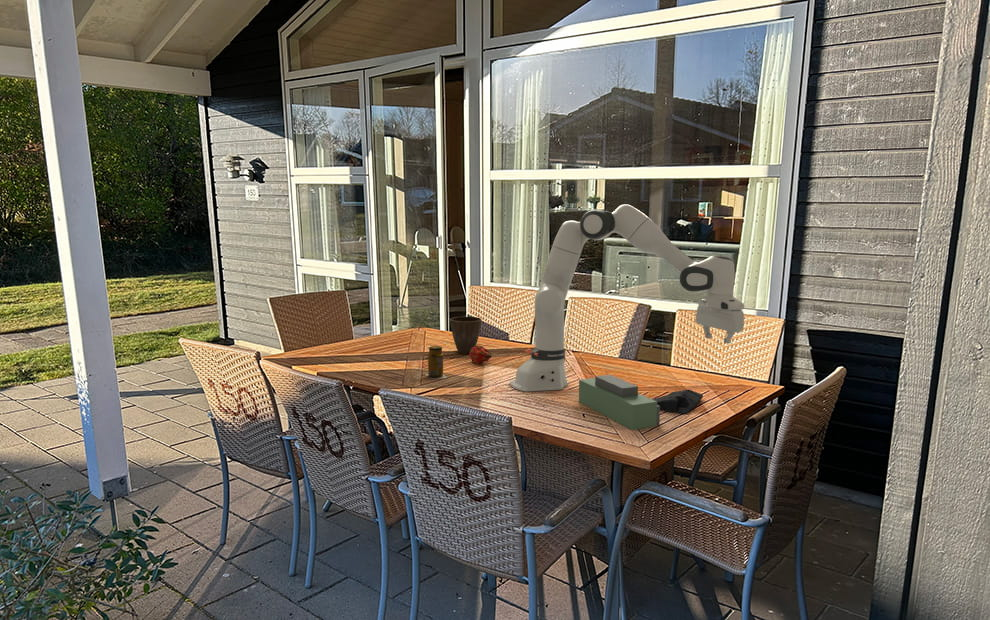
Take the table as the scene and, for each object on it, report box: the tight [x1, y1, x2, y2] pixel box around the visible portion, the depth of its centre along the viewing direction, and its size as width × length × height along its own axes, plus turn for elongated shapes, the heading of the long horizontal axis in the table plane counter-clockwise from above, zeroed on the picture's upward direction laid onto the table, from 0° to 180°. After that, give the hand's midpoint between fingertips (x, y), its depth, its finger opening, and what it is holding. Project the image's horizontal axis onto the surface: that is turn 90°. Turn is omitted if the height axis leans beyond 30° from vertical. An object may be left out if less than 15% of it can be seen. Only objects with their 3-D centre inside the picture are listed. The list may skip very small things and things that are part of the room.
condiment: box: [424, 345, 448, 380], centre depth 259 cm, size 7×8×12 cm
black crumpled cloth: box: [652, 389, 704, 415], centre depth 223 cm, size 15×22×5 cm
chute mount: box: [578, 374, 661, 431], centre depth 212 cm, size 11×32×11 cm, turn 23°
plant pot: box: [449, 316, 483, 355], centre depth 303 cm, size 15×15×16 cm
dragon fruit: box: [467, 344, 492, 365], centre depth 282 cm, size 8×8×12 cm
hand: (717, 340), depth 226 cm, fingers open, 8 cm apart
